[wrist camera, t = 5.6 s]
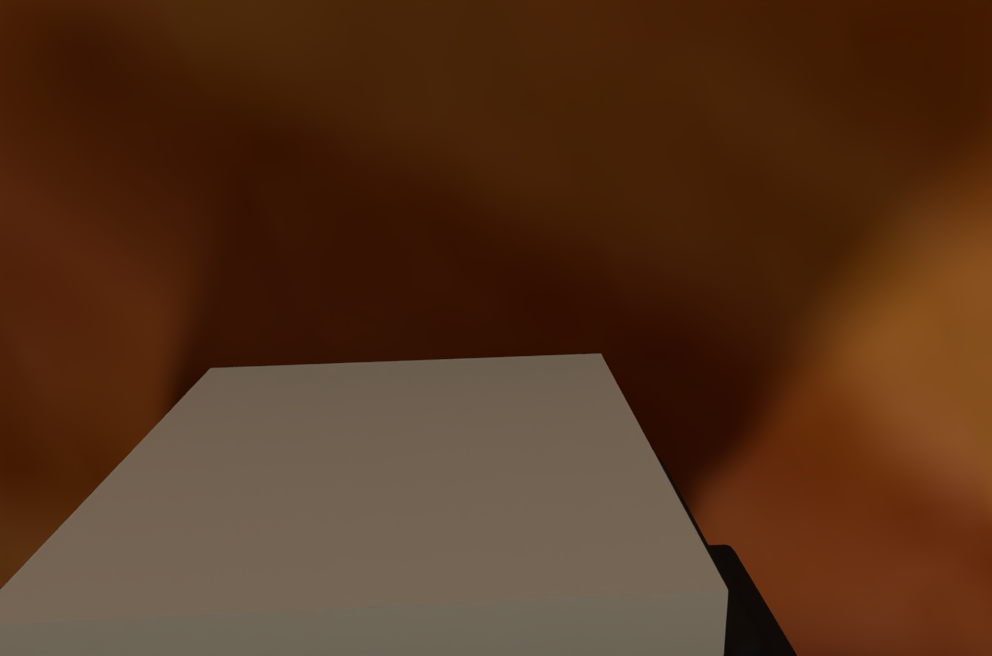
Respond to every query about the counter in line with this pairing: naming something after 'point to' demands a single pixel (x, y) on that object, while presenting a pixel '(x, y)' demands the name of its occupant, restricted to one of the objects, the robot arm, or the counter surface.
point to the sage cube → (380, 524)
